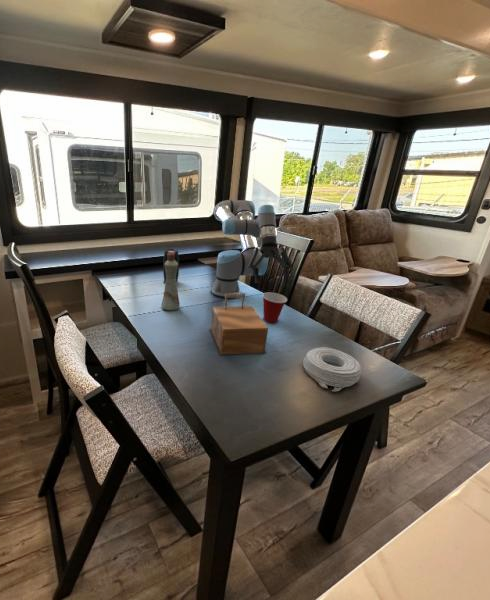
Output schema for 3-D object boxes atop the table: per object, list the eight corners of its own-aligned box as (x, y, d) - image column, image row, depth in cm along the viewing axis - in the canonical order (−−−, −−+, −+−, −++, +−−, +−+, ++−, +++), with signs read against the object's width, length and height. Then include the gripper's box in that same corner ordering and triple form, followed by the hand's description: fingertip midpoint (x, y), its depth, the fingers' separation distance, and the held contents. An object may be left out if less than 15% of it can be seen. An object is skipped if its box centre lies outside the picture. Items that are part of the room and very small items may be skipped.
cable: (331, 396, 95) (335, 380, 92) (290, 365, 110) (293, 350, 107) (370, 382, 101) (375, 367, 99) (327, 354, 116) (330, 340, 114)
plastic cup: (284, 327, 136) (289, 302, 131) (259, 324, 138) (263, 299, 133) (282, 316, 146) (286, 293, 141) (258, 314, 147) (261, 290, 143)
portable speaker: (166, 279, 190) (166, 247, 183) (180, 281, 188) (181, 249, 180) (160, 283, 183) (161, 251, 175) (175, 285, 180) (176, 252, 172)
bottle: (157, 307, 152) (157, 251, 141) (170, 302, 158) (171, 248, 147) (170, 313, 146) (171, 255, 135) (183, 307, 152) (184, 251, 141)
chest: (211, 330, 132) (212, 309, 128) (249, 329, 133) (251, 308, 130) (221, 354, 115) (223, 331, 111) (264, 353, 116) (268, 330, 113)
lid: (212, 308, 129) (213, 291, 126) (251, 307, 130) (253, 290, 127) (223, 331, 111) (224, 311, 108) (268, 329, 112) (271, 311, 110)
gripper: (244, 234, 138) (247, 280, 134) (298, 235, 141) (302, 281, 137) (239, 240, 145) (242, 284, 141) (290, 241, 148) (294, 285, 144)
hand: (271, 283), depth 139 cm, fingers open, 13 cm apart
